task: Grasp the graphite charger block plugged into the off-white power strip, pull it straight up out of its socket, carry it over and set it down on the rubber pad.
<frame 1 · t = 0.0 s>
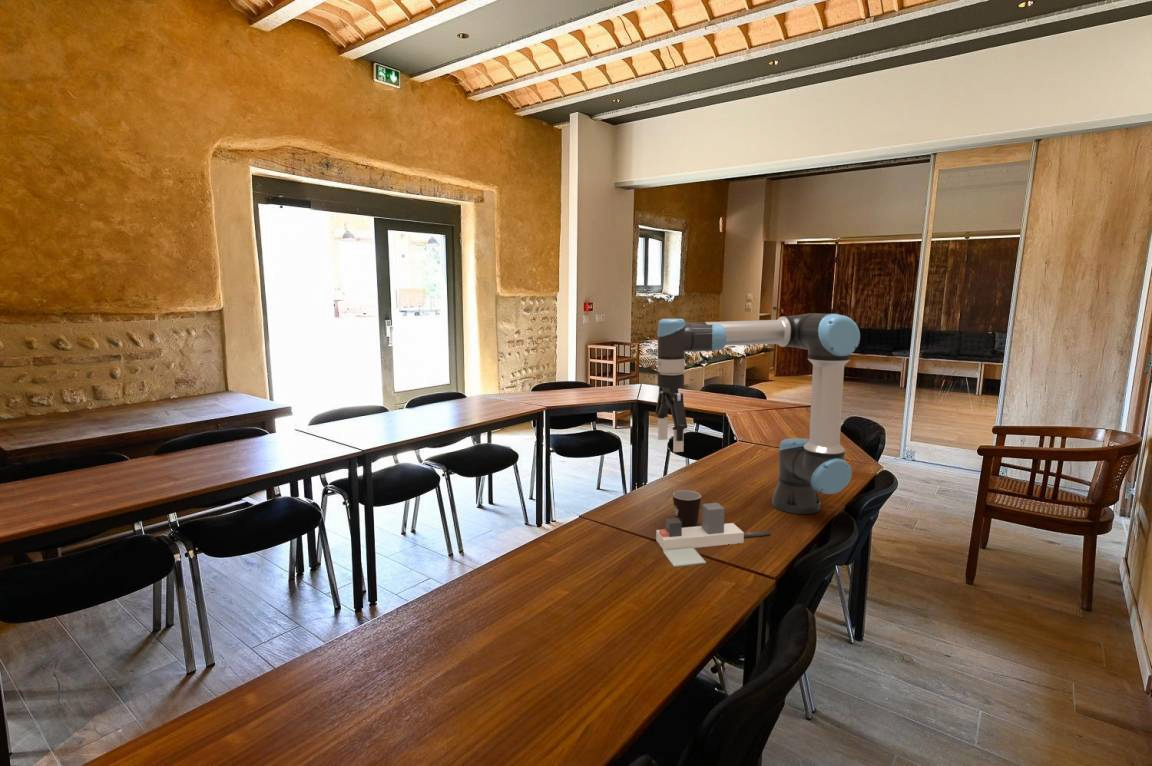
hand: (670, 445, 165), 28 cm above the table, fingers open, 13 cm apart
charger: (712, 540, 165), resting in strip
strip: (699, 541, 165), on the table
pad: (683, 557, 155), on the table
coffee mug: (686, 524, 178), on the table
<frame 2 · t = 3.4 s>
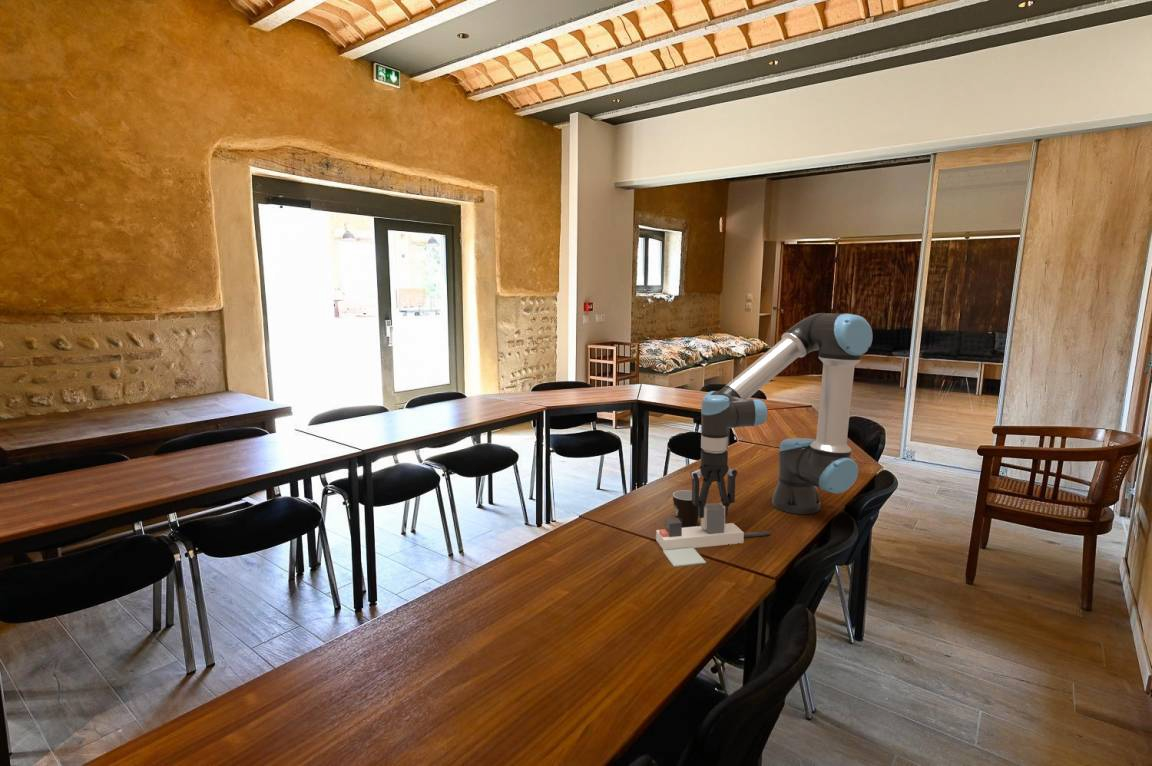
hand: (712, 526, 165), 4 cm above the table, fingers closed on charger, 5 cm apart
charger: (712, 540, 165), resting in strip, touching gripper
everything else where it was.
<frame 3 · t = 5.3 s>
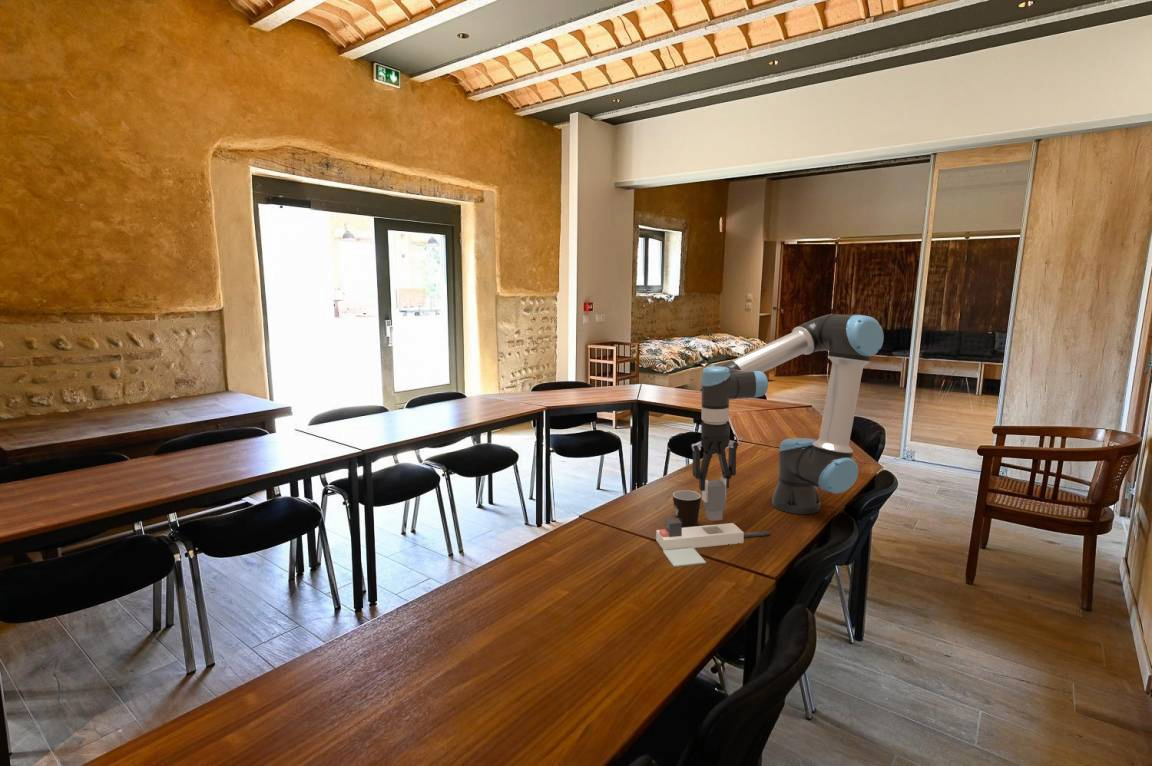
hand: (713, 499, 164), 12 cm above the table, fingers closed on charger, 5 cm apart
charger: (713, 517, 164), point 7 cm above the table, touching gripper
everything else where it was.
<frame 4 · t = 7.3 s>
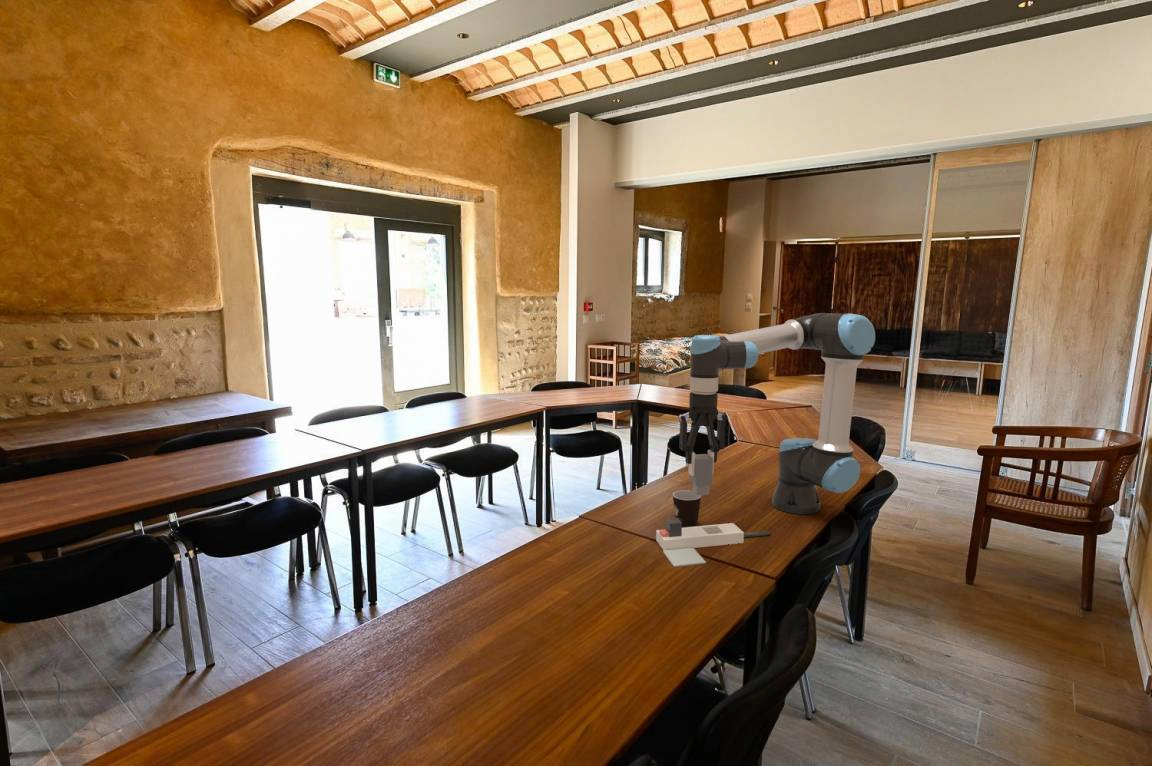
hand: (700, 474, 158), 22 cm above the table, fingers closed on charger, 5 cm apart
charger: (700, 492, 159), point 16 cm above the table, touching gripper
everything else where it was.
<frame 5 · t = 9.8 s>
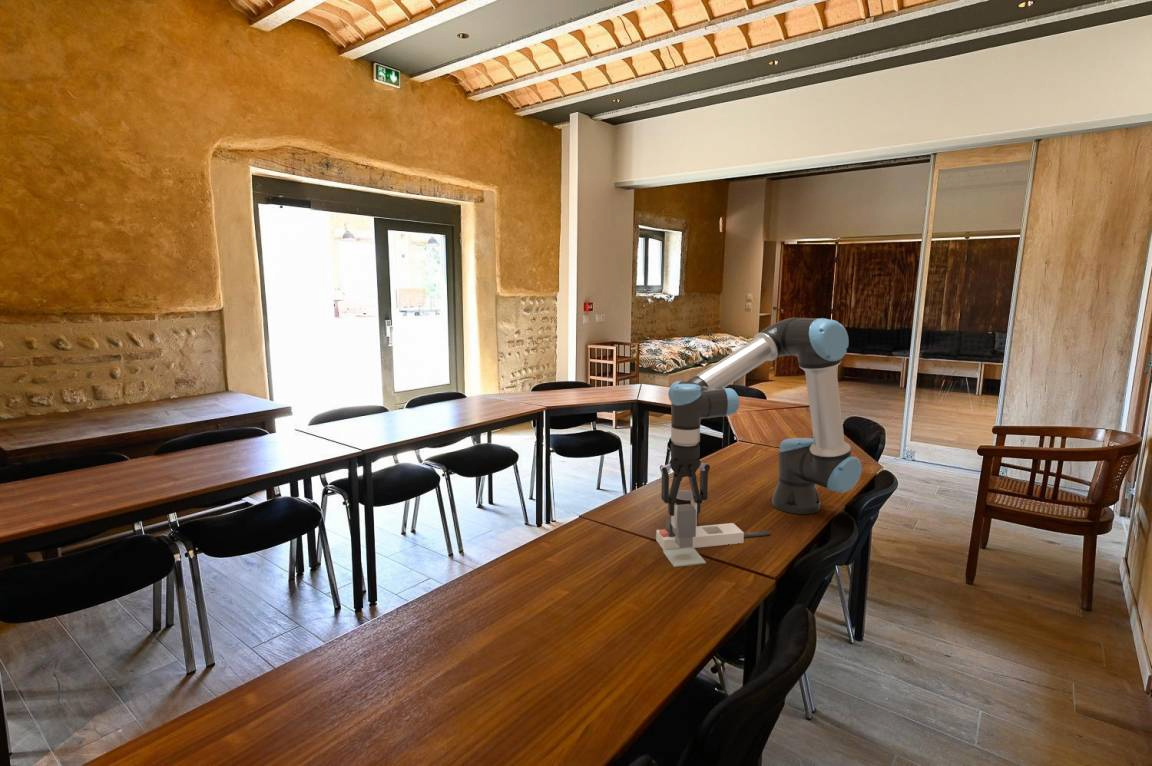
hand: (683, 525, 154), 9 cm above the table, fingers closed on charger, 5 cm apart
charger: (683, 544, 154), point 4 cm above the table, touching gripper
everything else where it was.
when the fingers open (6 cm above the table, at t = 11.3 s): charger stays where it is, resting on pad.
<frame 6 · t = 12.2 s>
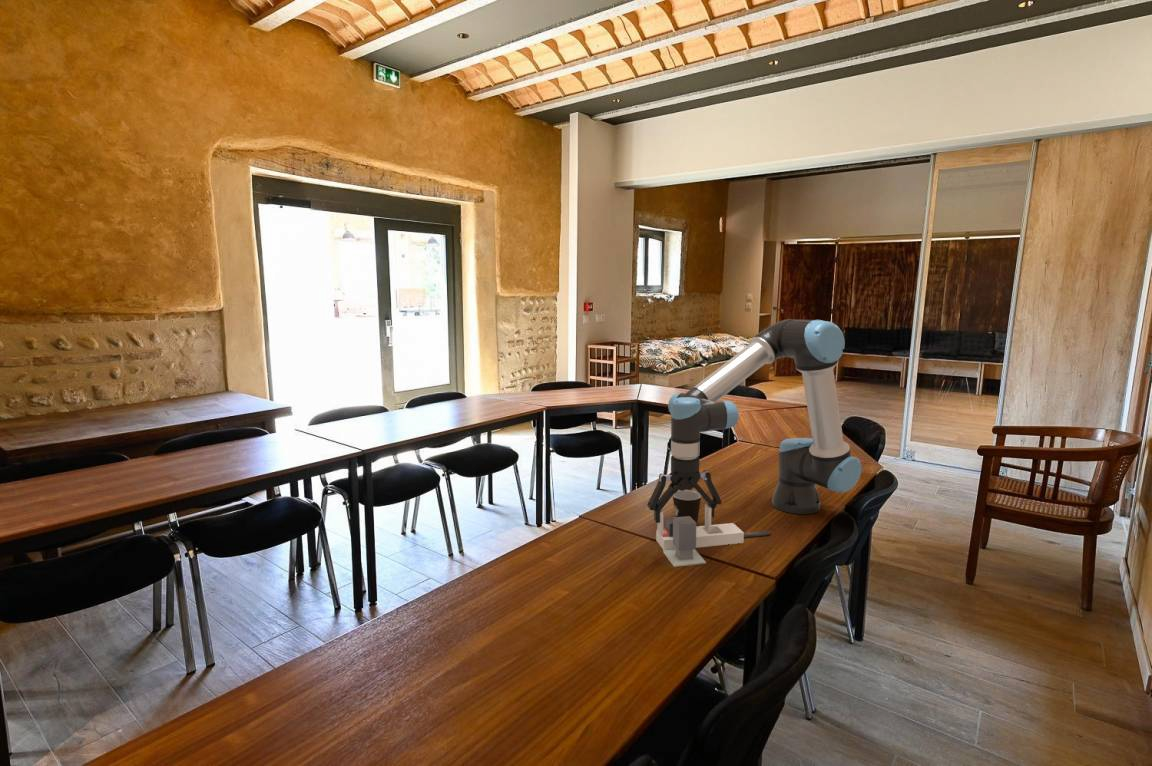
hand: (684, 531, 154), 8 cm above the table, fingers open, 13 cm apart
charger: (684, 556, 155), resting on pad
everything else where it was.
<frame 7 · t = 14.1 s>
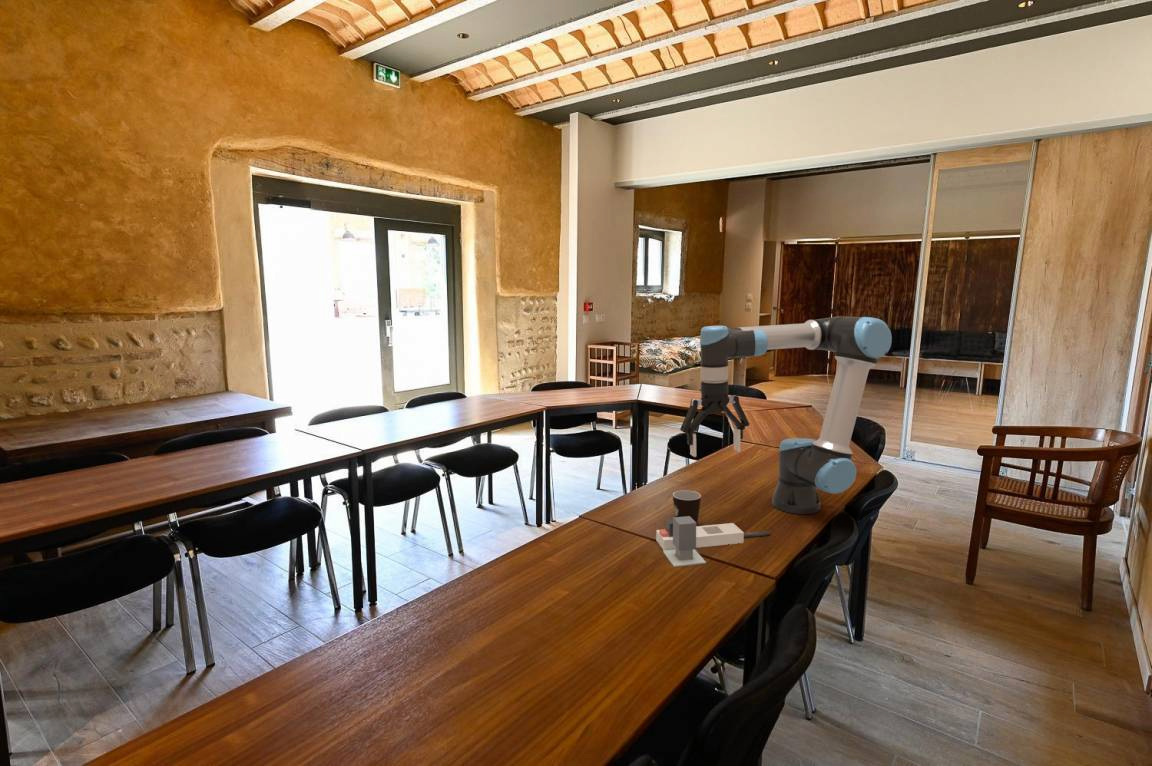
hand: (715, 453, 164), 26 cm above the table, fingers open, 13 cm apart
nothing on the table moved.
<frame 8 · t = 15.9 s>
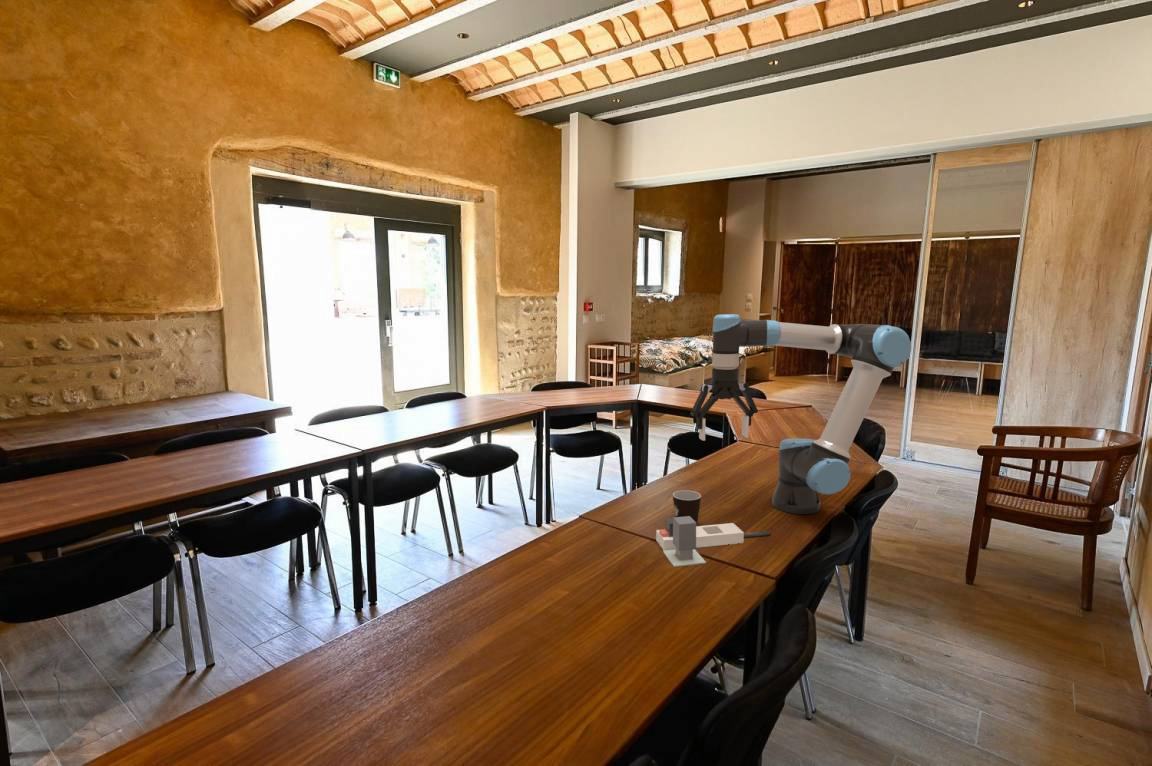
hand: (723, 438, 169), 29 cm above the table, fingers open, 13 cm apart
nothing on the table moved.
at the end: charger inside the target area on the pad (0.1 cm from its centre), point 0.4 cm above the pad's base; charger touching pad; the gripper is holding nothing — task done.
